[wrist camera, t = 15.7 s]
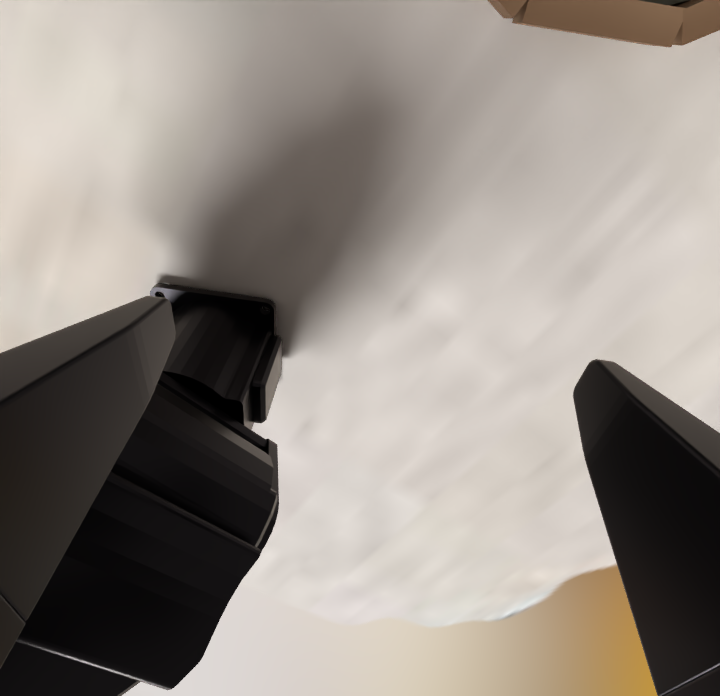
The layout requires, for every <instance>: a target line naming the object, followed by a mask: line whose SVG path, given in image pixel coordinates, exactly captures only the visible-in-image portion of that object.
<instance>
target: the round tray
mask: <svg viewBox="0 0 720 696" xmlns="http://www.w3.org/2000/svg"><path fill="white" fill-rule="evenodd" d="M488 1H489V2H490V3H491V5H492V6H493V7H494V8H495V9H496V10H497V11H498V12H499V13H500V15H501V16H502V17H503V18H513V17H514V18H513V22H512V23H516V24H522V25H528V26H535V27H541V28H547V29H553V30H559V31H565V32H571V33H578V34H584V35H590V36H596V37H602V38H608V39H615V40H621V41H627V42H633V43H639V44H645V45H653V46H664V47H671V46H672V45H685V44H687V43H689V42H692V41H694V40H697V39H699V38H701V37H704V36H706V35H709V34H711V33H713V32H716V31H718V30H720V0H488ZM672 4H673V5H672ZM669 5H671V6H669Z"/></svg>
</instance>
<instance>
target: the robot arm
mask: <svg viewBox="0 0 720 696" xmlns="http://www.w3.org/2000/svg"><path fill="white" fill-rule="evenodd" d="M158 291H159V292H162V293H163V294H164V296H162V295H161V294H159V292H158ZM150 295H151V296H146V297H143V298H141V299H138V300H136V301H133V302H130V303H128V304H125V305H123V306H120V307H118V308H115V309H112V310H110V311H107V312H105V313H102V314H100V315H97V316H95V317H92V318H89V319H87V320H84V321H82V322H79V323H77V324H74V325H71V326H69V327H66V328H64V329H61V330H59V331H56V332H54V333H51V334H48V335H46V336H43V337H41V338H38V339H36V340H33V341H30V342H28V343H25V344H23V345H20V346H18V347H15V348H13V349H10V350H7V351H5V352H2V353H0V696H122V695H123V694H124V693H126V692H127V691H128V690H130V689H131V688H133V687H134V686H135V685H137V684H138V683H139V682H144V683H148V684H150V685H154V686H157V687H160V688H163V689H166V690H170V689H172V688H174V687H175V686H176V685H177V684H178V683H179V682H180V681H181V680H182V679H183V678H184V677H185V676H186V675H187V674H188V673H189V672H190V671H191V670H192V669H193V668H194V667H195V666H196V665H197V664H198V662H200V660H201V659H202V657H203V655H204V653H205V650H206V648H207V646H208V644H209V641H210V640H211V637H212V635H213V633H214V631H215V629H216V626H217V624H218V622H219V619H220V618H221V616H222V614H223V612H224V610H225V608H226V606H227V604H228V602H229V600H230V599H231V597H232V595H233V594H234V592H235V590H236V589H237V587H238V585H239V584H240V582H241V580H242V579H243V578H244V576H245V575H246V574H247V572H248V571H249V570H250V569H251V567H252V566H253V565H254V563H255V562H256V561H257V559H258V558H259V556H260V553H261V551H262V549H263V548H264V546H265V545H266V543H267V541H268V539H269V537H270V535H271V533H272V530H273V527H274V525H275V522H276V518H277V514H278V506H279V494H278V457H277V444H275V443H274V442H272V441H271V440H269V439H264V438H263V437H261V436H259V435H258V434H256V433H255V432H253V431H252V430H251V429H252V427H253V424H254V422H255V423H263V422H264V421H265V420H266V419H267V416H268V413H269V409H270V406H271V403H272V400H273V397H274V394H275V391H276V388H277V384H278V381H279V378H280V375H281V370H282V339H281V338H280V336H279V335H276V305H275V303H274V302H273V301H272V300H270V299H267V298H260V297H252V296H245V295H238V294H231V293H224V292H217V291H210V290H203V289H196V288H189V287H182V286H175V285H168V284H157V285H155V286H154V287H153V288H152V290H151V291H150ZM264 306H265V307H268V308H269V310H268V311H266V310H264V309H263V308H262V307H264ZM573 398H574V404H575V409H576V415H577V420H578V426H579V431H580V436H581V442H582V447H583V452H584V456H585V461H586V464H587V468H588V471H589V474H590V478H591V481H592V484H593V487H594V491H595V494H596V497H597V500H598V504H599V507H600V510H601V513H602V517H603V520H604V523H605V526H606V530H607V533H608V536H609V539H610V543H611V546H612V549H613V552H614V556H615V559H616V562H617V565H618V569H619V572H620V575H621V578H622V582H623V585H624V588H625V591H626V594H627V598H628V601H629V604H630V608H631V611H632V614H633V617H634V620H635V624H636V627H637V630H638V634H639V637H640V640H641V643H642V646H643V650H644V653H645V656H646V660H647V663H648V666H649V669H650V672H651V676H652V679H653V682H654V686H655V689H656V692H657V695H658V696H720V433H719V432H717V431H716V430H714V429H713V428H711V427H710V426H708V425H707V424H705V423H704V422H702V421H701V420H699V419H698V418H697V417H695V416H694V415H692V414H691V413H689V412H688V411H686V410H685V409H683V408H682V407H680V406H679V405H677V404H676V403H674V402H673V401H671V400H670V399H668V398H667V397H665V396H664V395H662V394H661V393H659V392H658V391H656V390H655V389H653V388H652V387H651V386H649V385H648V384H646V383H645V382H643V381H642V380H640V379H639V378H637V377H636V376H634V375H633V374H631V373H630V372H628V371H627V370H625V369H624V368H622V367H621V366H619V365H618V364H616V363H615V362H612V361H605V360H598V359H595V360H593V361H591V362H590V363H589V364H588V366H587V367H586V369H585V371H584V372H583V374H582V376H581V378H580V379H579V381H578V383H577V384H576V386H575V389H574V393H573Z"/></svg>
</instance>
